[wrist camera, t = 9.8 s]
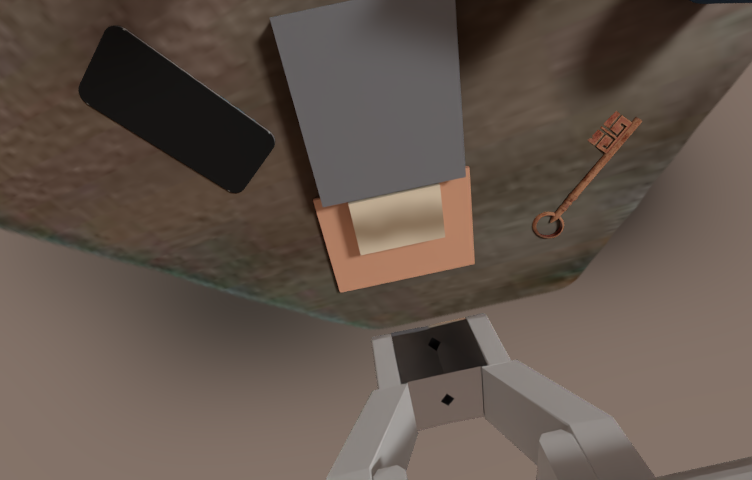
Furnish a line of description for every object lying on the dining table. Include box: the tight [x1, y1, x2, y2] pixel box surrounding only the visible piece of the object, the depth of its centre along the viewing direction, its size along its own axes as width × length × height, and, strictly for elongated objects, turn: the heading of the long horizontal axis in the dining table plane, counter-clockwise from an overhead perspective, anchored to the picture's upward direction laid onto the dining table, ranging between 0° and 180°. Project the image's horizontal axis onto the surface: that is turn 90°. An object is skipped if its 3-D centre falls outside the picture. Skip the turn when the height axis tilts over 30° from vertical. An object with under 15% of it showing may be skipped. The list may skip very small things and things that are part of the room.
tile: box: [348, 183, 445, 255], centre depth 40 cm, size 6×9×2 cm, turn 100°
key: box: [532, 111, 642, 238], centre depth 41 cm, size 6×1×15 cm
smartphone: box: [79, 26, 275, 193], centre depth 34 cm, size 7×1×15 cm
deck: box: [270, 0, 466, 207], centre depth 34 cm, size 16×14×2 cm
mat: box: [313, 166, 475, 293], centre depth 42 cm, size 12×16×1 cm
